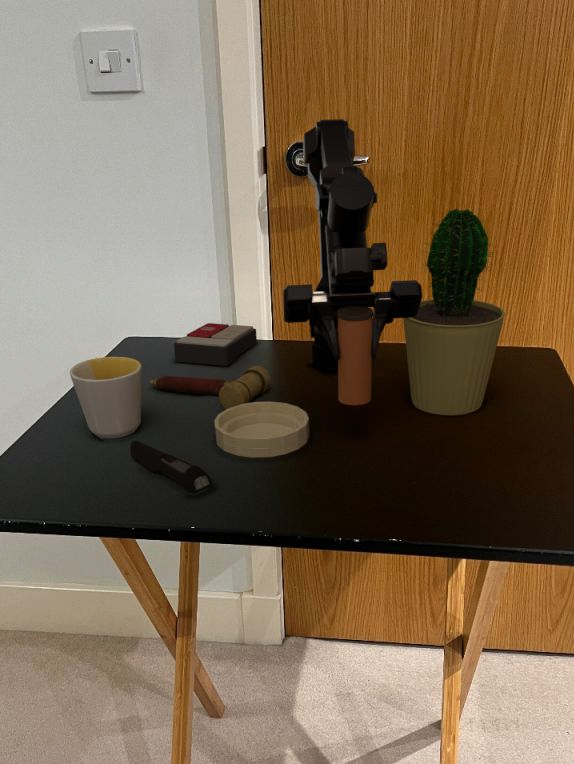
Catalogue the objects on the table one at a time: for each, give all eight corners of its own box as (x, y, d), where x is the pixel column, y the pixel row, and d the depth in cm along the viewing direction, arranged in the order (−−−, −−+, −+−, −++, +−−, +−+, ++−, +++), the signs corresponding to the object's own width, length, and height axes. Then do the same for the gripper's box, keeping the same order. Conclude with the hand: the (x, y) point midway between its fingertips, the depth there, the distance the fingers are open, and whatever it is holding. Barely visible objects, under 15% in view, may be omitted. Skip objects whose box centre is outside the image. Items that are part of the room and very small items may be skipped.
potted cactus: (384, 411, 120) (390, 210, 105) (417, 380, 132) (427, 195, 117) (479, 427, 114) (500, 216, 99) (505, 393, 126) (528, 199, 111)
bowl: (280, 415, 120) (279, 395, 118) (326, 446, 110) (326, 424, 108) (201, 435, 114) (199, 413, 113) (241, 470, 104) (240, 447, 102)
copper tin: (349, 390, 110) (350, 304, 103) (378, 397, 107) (380, 309, 101) (330, 401, 106) (329, 312, 100) (359, 408, 104) (360, 317, 97)
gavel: (131, 379, 127) (163, 360, 135) (136, 405, 129) (168, 385, 137) (241, 386, 119) (269, 366, 126) (245, 413, 121) (272, 392, 129)
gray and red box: (256, 324, 151) (226, 343, 139) (257, 346, 153) (227, 366, 140) (206, 321, 154) (172, 339, 142) (208, 342, 156) (174, 361, 144)
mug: (120, 452, 110) (109, 383, 105) (67, 439, 114) (54, 373, 109) (176, 418, 120) (169, 354, 115) (126, 408, 125) (116, 346, 119)
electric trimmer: (148, 455, 109) (144, 435, 108) (215, 488, 100) (213, 466, 98) (125, 464, 107) (122, 443, 106) (193, 498, 97) (190, 476, 96)
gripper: (280, 222, 98) (286, 332, 94) (423, 217, 99) (435, 325, 95) (281, 271, 109) (286, 371, 105) (410, 266, 109) (420, 365, 106)
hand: (355, 358), depth 102 cm, fingers closed on copper tin, 4 cm apart
